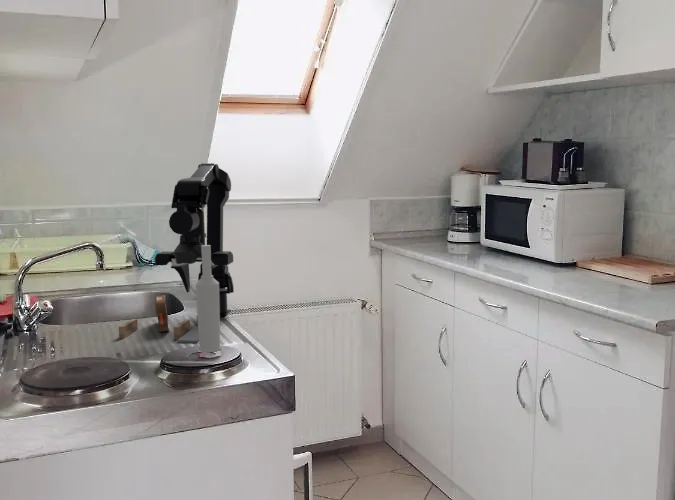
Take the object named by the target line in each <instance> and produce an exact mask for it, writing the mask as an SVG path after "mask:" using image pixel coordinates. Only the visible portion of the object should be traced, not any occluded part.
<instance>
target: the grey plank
mask: <svg viewBox="0 0 675 500" xmlns="http://www.w3.org/2000/svg"><path fill="white" fill-rule="evenodd" d="M176 342H177V344H178V343H179V344H181V343H183V344H185V343H186V344H199V330H198V324H197V325H196V326H194V327H193V328H192V329H190V331H188V332H187V333H186V334H185V335H184V336H182V337H181V338H180V339H176Z"/></svg>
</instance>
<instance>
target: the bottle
mask: <svg viewBox="0 0 675 500" xmlns="http://www.w3.org/2000/svg"><path fill="white" fill-rule="evenodd" d="M201 252H202V262H201V263H202V272H203V275H202V276H201V279H200V280H199V281H196V282H195V292H196V295H195V296H196V309H197V311H196V312H197V325H198V330H199V342H198V344H199V347H198V348H197V349H198V350H199V351H202V352H217V351H221V352H222V346H221V327H220V326H221V325H220V324H221V323H220V322H221V317H220V307H219V282H218V281H216V280H215V279H214V278H213V275H212V274H211V245H207V244H205V245H202V246H201ZM199 351H198V352H199Z"/></svg>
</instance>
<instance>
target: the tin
mask: <svg viewBox="0 0 675 500" xmlns="http://www.w3.org/2000/svg"><path fill="white" fill-rule="evenodd" d="M154 298H155V299H154V300H155V304H154V305H155V311H156V315H157V321H158V324H157V330H158V332H159V333H166V331H167V332H170V329H169V328H170V327H169V328H168V324H169V323H168V322H169V315H168V314H169V313H168V308H167V307H168V306H167V301H166V300H167V298H166V294H162V295H157V296H155V297H154Z"/></svg>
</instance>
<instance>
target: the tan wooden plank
mask: <svg viewBox="0 0 675 500" xmlns="http://www.w3.org/2000/svg"><path fill="white" fill-rule="evenodd" d="M138 330H139V326H138V318H132V319H130V320H129V321H126V322H124V323H122V324H121V325H119V326H118V336H119V337H118V339H125V338H127V337H129V336H130V335H132V334H133V333H135V332H137V331H138ZM190 330H191V319H190V318H186V319H183V320H182V321H181V322H179V323H178V324H176V325H175V326H174V327H173V339H174V340H178V339H180V338H181V337H182V336H184V335H185V334H186V333H188V332H189V331H190Z"/></svg>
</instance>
